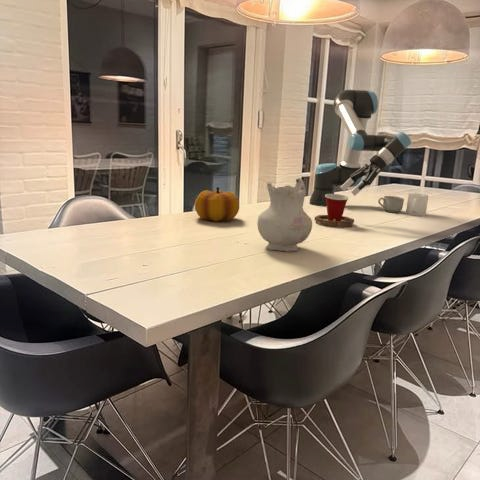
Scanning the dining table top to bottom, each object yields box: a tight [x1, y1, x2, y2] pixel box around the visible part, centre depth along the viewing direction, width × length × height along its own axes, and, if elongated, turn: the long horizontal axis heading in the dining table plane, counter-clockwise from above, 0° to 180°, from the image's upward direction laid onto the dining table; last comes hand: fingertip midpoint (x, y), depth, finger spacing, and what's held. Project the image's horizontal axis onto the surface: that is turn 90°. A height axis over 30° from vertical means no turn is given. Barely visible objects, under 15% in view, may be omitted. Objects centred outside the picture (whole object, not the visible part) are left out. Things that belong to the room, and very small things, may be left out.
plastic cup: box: [325, 193, 350, 222], centre depth 221 cm, size 11×11×12 cm
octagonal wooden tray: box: [314, 214, 355, 229], centre depth 222 cm, size 17×17×4 cm
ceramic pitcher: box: [256, 177, 313, 253], centre depth 172 cm, size 22×20×25 cm
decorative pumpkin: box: [194, 186, 240, 223], centre depth 218 cm, size 20×22×15 cm
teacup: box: [377, 195, 405, 214], centre depth 264 cm, size 14×11×8 cm
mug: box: [405, 192, 429, 217], centre depth 258 cm, size 14×10×11 cm
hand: (347, 191), depth 223 cm, fingers open, 13 cm apart
